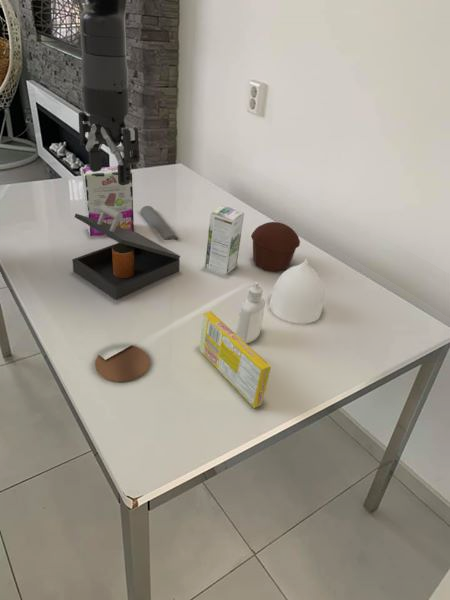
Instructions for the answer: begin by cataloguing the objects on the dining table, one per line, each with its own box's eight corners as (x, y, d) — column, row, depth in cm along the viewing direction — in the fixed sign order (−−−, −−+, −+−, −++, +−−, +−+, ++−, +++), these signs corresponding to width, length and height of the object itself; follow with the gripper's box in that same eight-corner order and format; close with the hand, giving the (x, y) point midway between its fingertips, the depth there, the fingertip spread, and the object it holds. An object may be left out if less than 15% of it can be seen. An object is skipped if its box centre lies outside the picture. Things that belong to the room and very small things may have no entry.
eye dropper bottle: (266, 339, 86) (276, 286, 79) (240, 345, 83) (248, 291, 77) (255, 326, 89) (264, 274, 82) (230, 331, 87) (237, 278, 80)
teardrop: (321, 328, 91) (335, 277, 84) (266, 318, 92) (276, 266, 85) (321, 298, 100) (334, 250, 93) (272, 289, 101) (280, 241, 94)
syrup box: (215, 260, 109) (220, 204, 101) (237, 267, 107) (244, 210, 99) (204, 270, 105) (209, 212, 97) (227, 278, 103) (233, 219, 95)
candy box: (264, 404, 72) (272, 365, 67) (253, 409, 71) (261, 370, 66) (208, 346, 82) (211, 309, 78) (198, 350, 81) (201, 313, 77)
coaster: (118, 390, 71) (118, 389, 71) (84, 362, 76) (83, 360, 76) (160, 364, 77) (160, 362, 77) (126, 339, 82) (126, 337, 82)
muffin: (240, 265, 108) (245, 227, 103) (257, 247, 117) (263, 211, 111) (286, 280, 105) (294, 241, 99) (301, 260, 113) (309, 224, 108)
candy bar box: (129, 226, 120) (128, 165, 111) (134, 234, 116) (133, 172, 107) (86, 230, 116) (81, 167, 107) (90, 238, 112) (85, 174, 103)
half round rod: (154, 210, 130) (154, 205, 129) (178, 241, 116) (179, 234, 115) (139, 212, 128) (139, 206, 127) (163, 243, 114) (163, 236, 113)
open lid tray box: (116, 303, 91) (115, 287, 89) (73, 274, 98) (72, 259, 96) (179, 274, 102) (179, 259, 100) (136, 250, 110) (136, 236, 107)
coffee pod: (122, 280, 96) (121, 255, 93) (108, 272, 99) (107, 247, 95) (138, 273, 99) (138, 248, 96) (125, 265, 102) (124, 241, 98)
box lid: (120, 243, 84) (129, 218, 84) (74, 217, 92) (82, 194, 91) (179, 259, 100) (187, 239, 99) (135, 236, 107) (143, 216, 107)
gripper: (61, 77, 77) (70, 170, 86) (114, 93, 70) (117, 193, 79) (98, 75, 82) (102, 163, 91) (150, 90, 75) (150, 184, 84)
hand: (109, 177), depth 85 cm, fingers open, 8 cm apart
